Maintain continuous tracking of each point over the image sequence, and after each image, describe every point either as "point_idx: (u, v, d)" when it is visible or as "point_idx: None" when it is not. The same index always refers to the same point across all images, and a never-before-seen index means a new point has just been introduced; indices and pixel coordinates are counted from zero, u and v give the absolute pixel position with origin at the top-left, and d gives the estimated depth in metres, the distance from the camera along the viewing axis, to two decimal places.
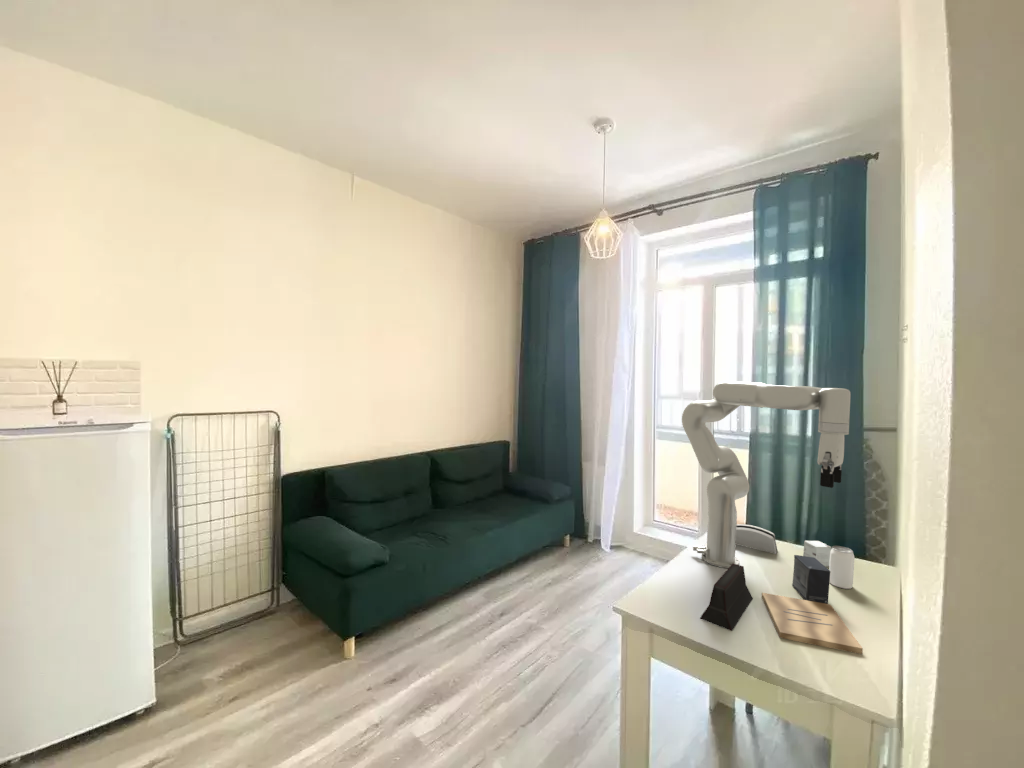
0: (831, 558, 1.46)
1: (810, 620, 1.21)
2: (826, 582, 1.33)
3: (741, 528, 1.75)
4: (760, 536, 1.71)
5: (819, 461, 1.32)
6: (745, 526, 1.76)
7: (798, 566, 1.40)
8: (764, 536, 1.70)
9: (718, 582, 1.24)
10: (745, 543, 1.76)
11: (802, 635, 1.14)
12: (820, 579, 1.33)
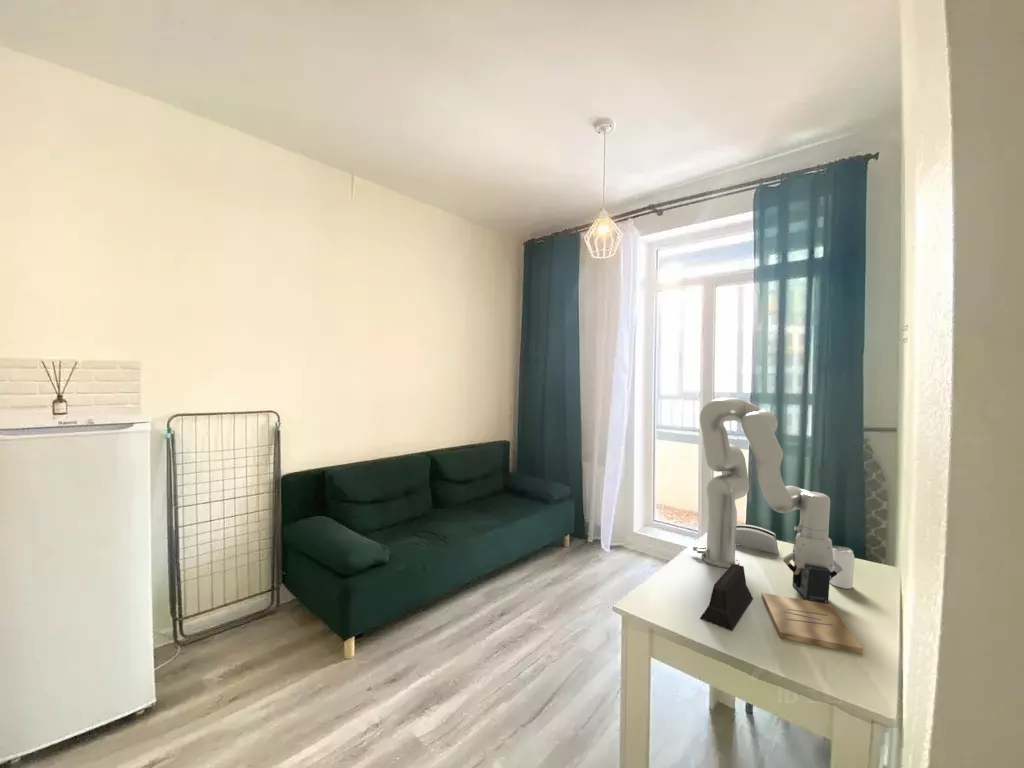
0: None
1: (810, 620, 1.21)
2: (826, 581, 1.33)
3: (742, 528, 1.75)
4: (762, 536, 1.71)
5: None
6: (746, 526, 1.75)
7: None
8: (765, 536, 1.70)
9: (718, 582, 1.24)
10: (746, 543, 1.75)
11: (802, 635, 1.14)
12: (820, 579, 1.33)
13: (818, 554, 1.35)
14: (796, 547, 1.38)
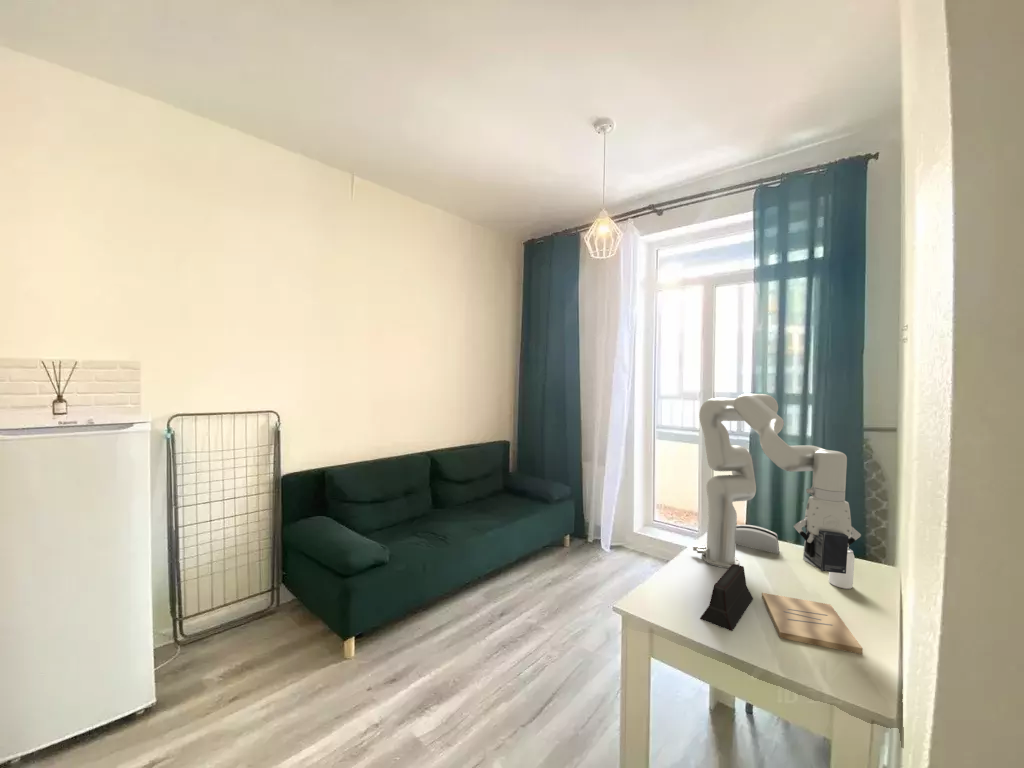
0: None
1: (810, 620, 1.21)
2: (843, 548, 1.18)
3: (744, 529, 1.75)
4: (763, 536, 1.71)
5: None
6: (748, 526, 1.75)
7: None
8: (767, 536, 1.70)
9: (718, 582, 1.24)
10: (747, 544, 1.75)
11: (802, 635, 1.14)
12: (837, 546, 1.18)
13: (834, 518, 1.20)
14: (809, 512, 1.23)
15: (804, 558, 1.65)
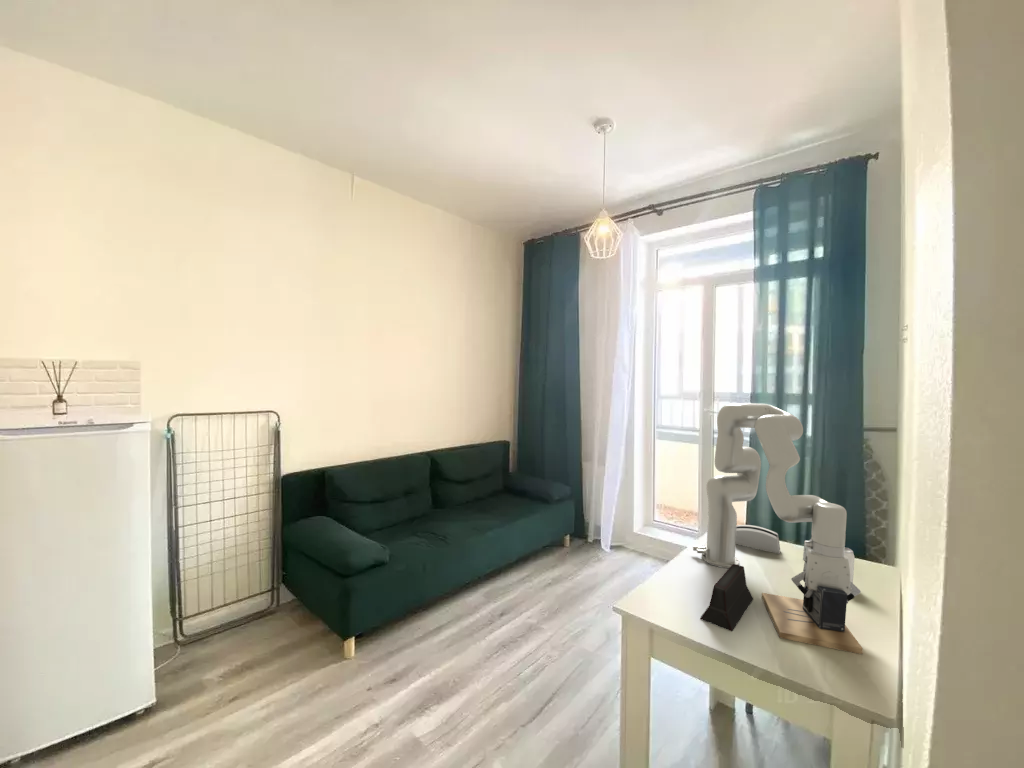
0: None
1: (810, 620, 1.21)
2: (842, 606, 1.16)
3: (745, 529, 1.74)
4: (764, 536, 1.70)
5: None
6: (748, 527, 1.75)
7: None
8: (768, 536, 1.70)
9: (718, 582, 1.24)
10: (749, 544, 1.75)
11: (802, 635, 1.14)
12: (835, 603, 1.16)
13: (833, 574, 1.18)
14: (807, 566, 1.21)
15: (804, 558, 1.65)
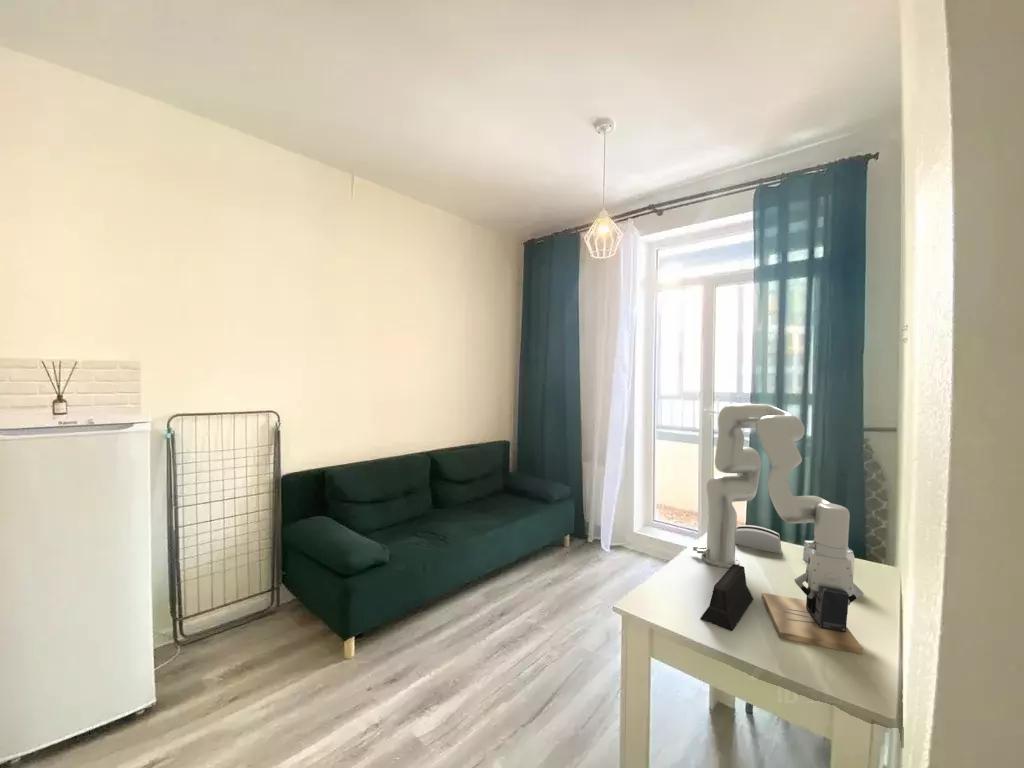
0: None
1: (810, 620, 1.21)
2: (843, 606, 1.15)
3: (746, 529, 1.74)
4: (766, 536, 1.70)
5: None
6: (750, 527, 1.75)
7: None
8: (770, 536, 1.70)
9: (718, 582, 1.24)
10: (750, 544, 1.75)
11: (802, 635, 1.14)
12: (836, 603, 1.16)
13: (836, 575, 1.18)
14: (810, 567, 1.20)
15: (804, 558, 1.65)
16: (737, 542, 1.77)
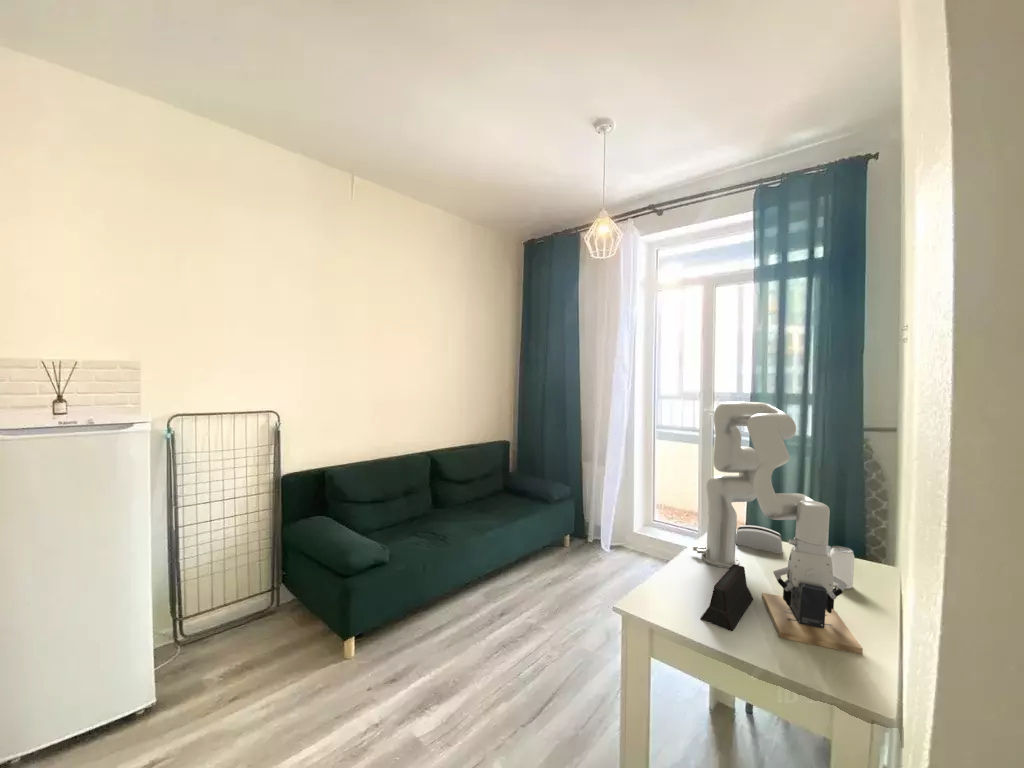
0: None
1: None
2: (821, 602, 1.17)
3: (748, 529, 1.74)
4: (768, 536, 1.70)
5: None
6: (751, 527, 1.75)
7: None
8: (772, 537, 1.70)
9: (718, 583, 1.24)
10: (751, 544, 1.75)
11: (802, 635, 1.14)
12: (814, 599, 1.18)
13: (816, 572, 1.19)
14: (791, 563, 1.22)
15: None
16: (738, 542, 1.77)
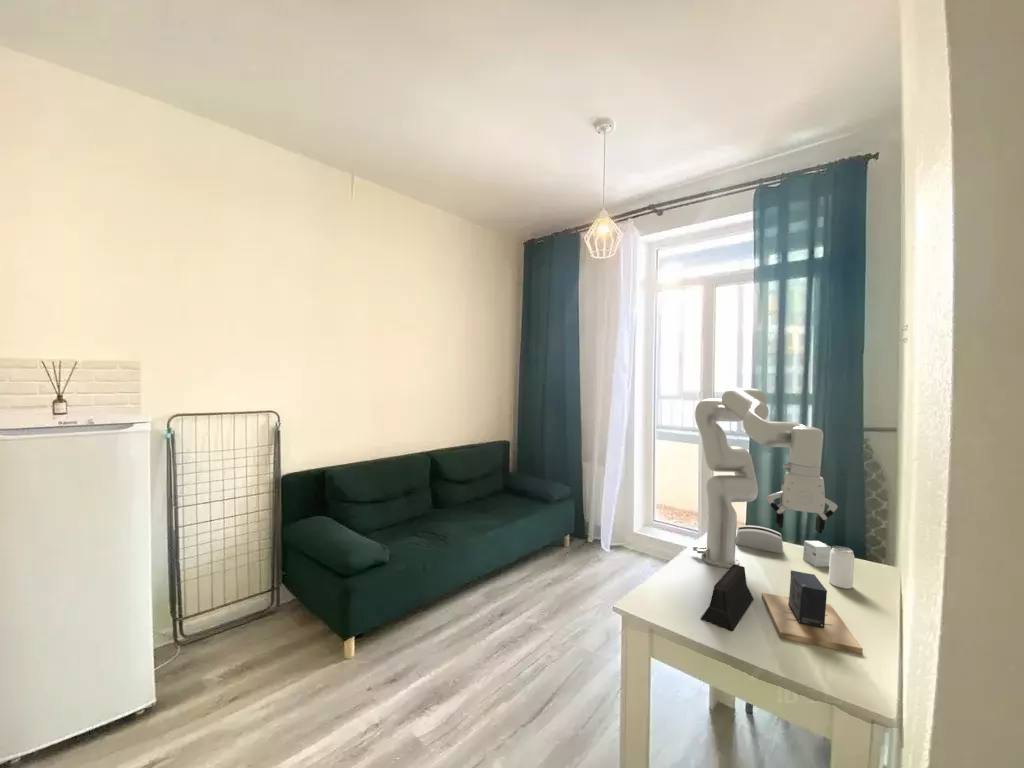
0: (831, 558, 1.46)
1: None
2: (821, 602, 1.17)
3: (749, 529, 1.74)
4: (768, 536, 1.70)
5: None
6: (752, 527, 1.75)
7: (793, 583, 1.25)
8: (772, 537, 1.70)
9: (719, 583, 1.23)
10: (752, 544, 1.75)
11: (802, 635, 1.14)
12: (814, 599, 1.18)
13: (808, 493, 1.22)
14: (784, 486, 1.25)
15: (804, 558, 1.65)
16: (739, 543, 1.77)
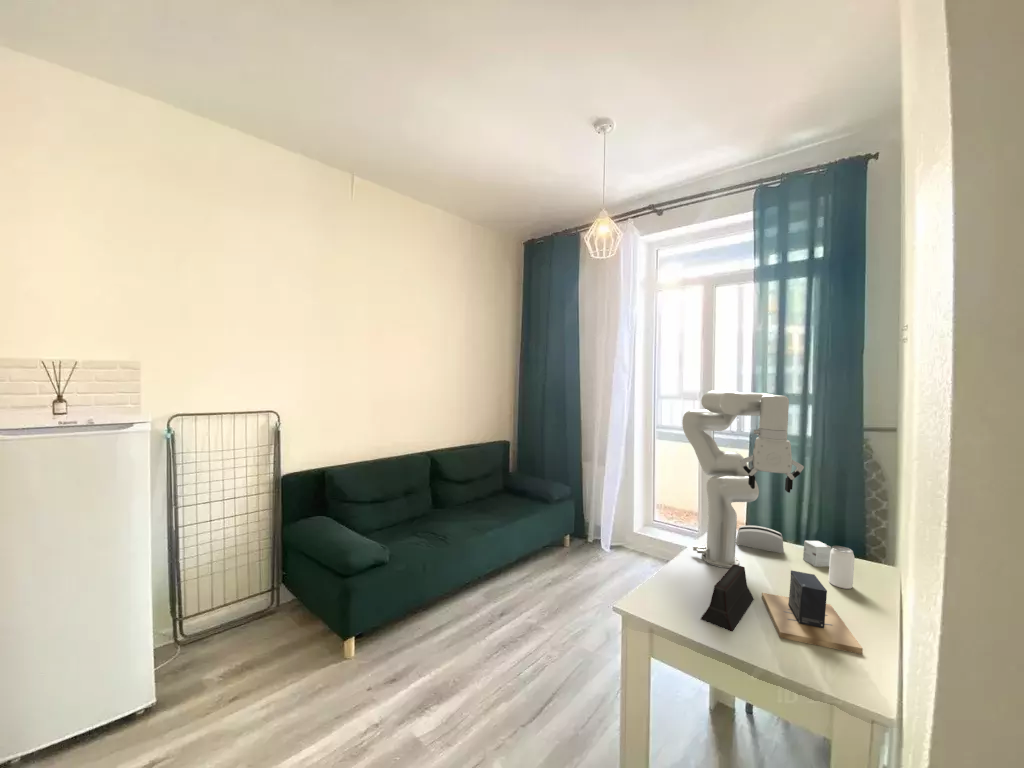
0: (831, 558, 1.46)
1: None
2: (821, 602, 1.17)
3: (749, 530, 1.74)
4: (769, 536, 1.70)
5: (791, 469, 1.32)
6: (753, 527, 1.75)
7: (793, 583, 1.25)
8: (773, 537, 1.70)
9: (719, 583, 1.23)
10: (753, 544, 1.75)
11: (802, 635, 1.14)
12: (814, 599, 1.18)
13: (776, 455, 1.33)
14: (755, 450, 1.36)
15: (804, 558, 1.65)
16: (740, 543, 1.77)
